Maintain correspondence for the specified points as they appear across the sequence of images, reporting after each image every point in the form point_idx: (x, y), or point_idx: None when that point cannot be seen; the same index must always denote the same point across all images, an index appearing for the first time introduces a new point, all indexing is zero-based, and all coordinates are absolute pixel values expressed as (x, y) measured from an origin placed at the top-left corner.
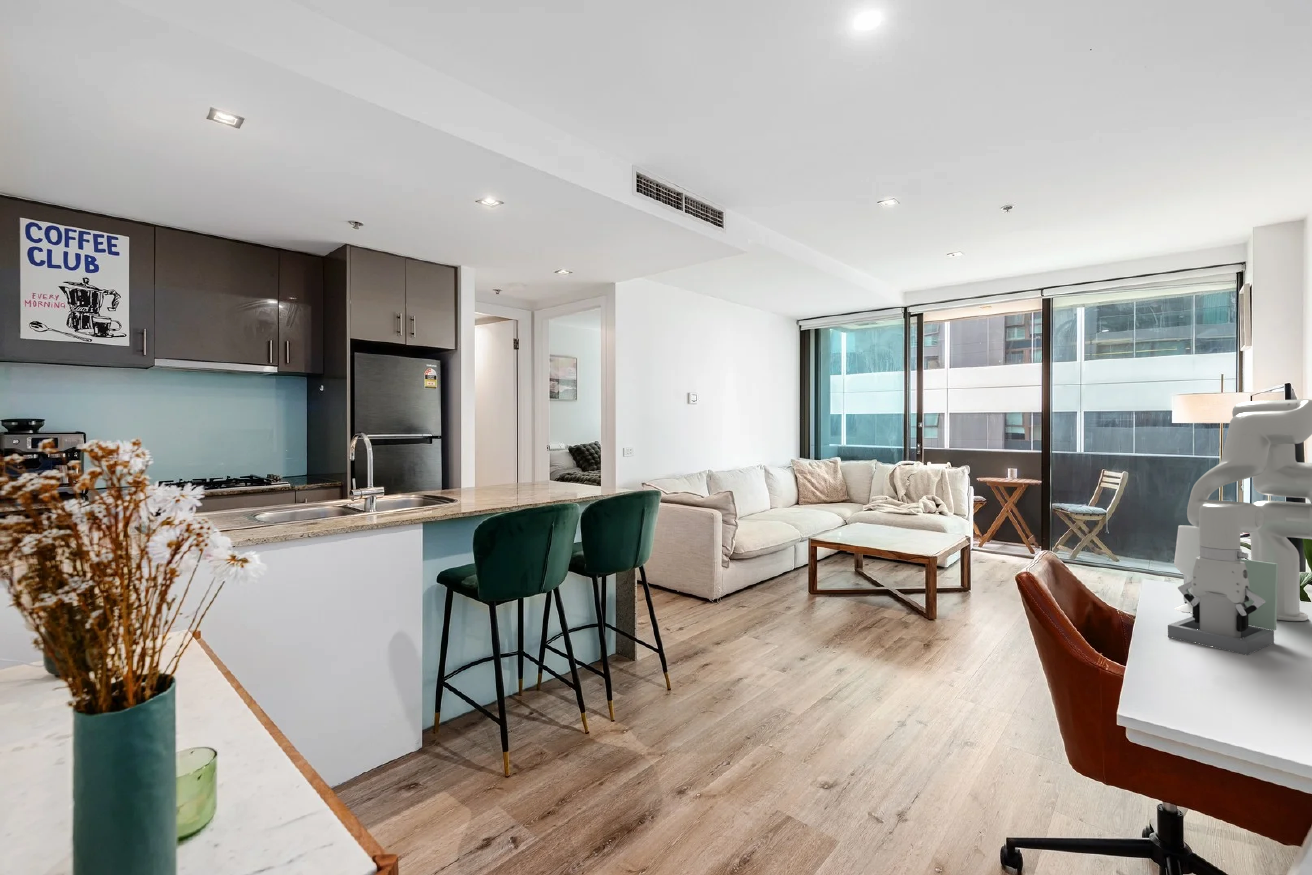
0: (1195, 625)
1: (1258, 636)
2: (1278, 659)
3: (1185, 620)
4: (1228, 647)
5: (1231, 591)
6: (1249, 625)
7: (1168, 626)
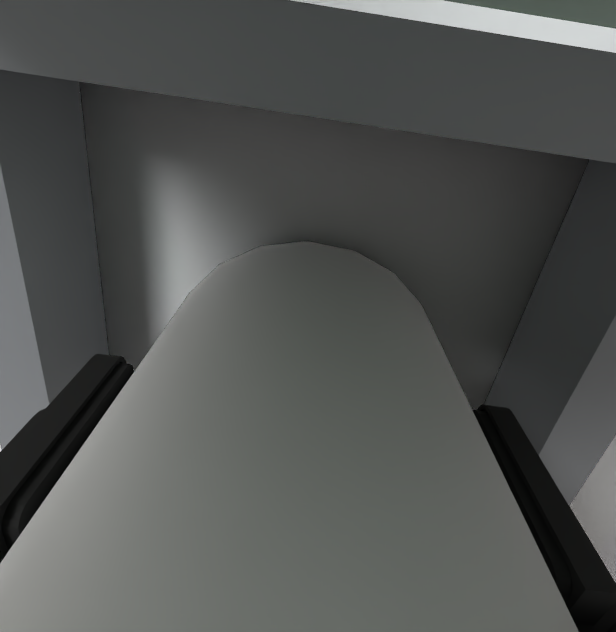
0: (64, 235)
1: (579, 479)
2: (602, 515)
3: (8, 380)
4: None
5: None
6: (562, 18)
7: None
